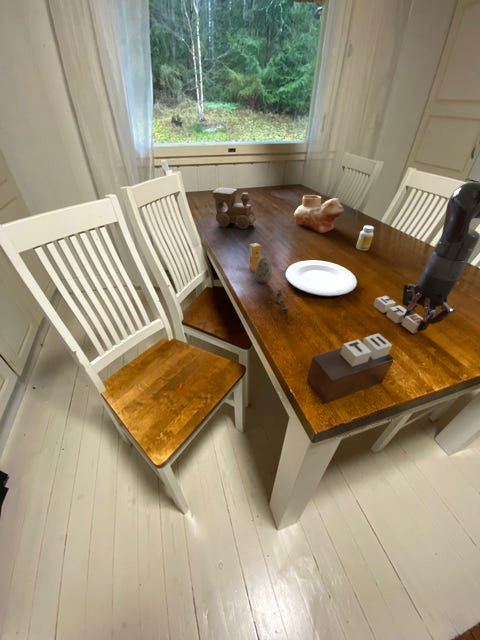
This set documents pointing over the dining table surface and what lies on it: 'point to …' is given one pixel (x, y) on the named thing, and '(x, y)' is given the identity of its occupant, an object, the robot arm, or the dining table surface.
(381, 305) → the letter cube pair
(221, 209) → the wooden toy train
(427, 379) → the dining table surface
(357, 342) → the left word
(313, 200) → the ceramic vessel
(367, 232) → the supplement bottle
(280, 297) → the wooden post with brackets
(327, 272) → the plate
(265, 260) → the decorative egg
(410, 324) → the tile
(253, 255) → the supplement box
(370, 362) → the tile rack
